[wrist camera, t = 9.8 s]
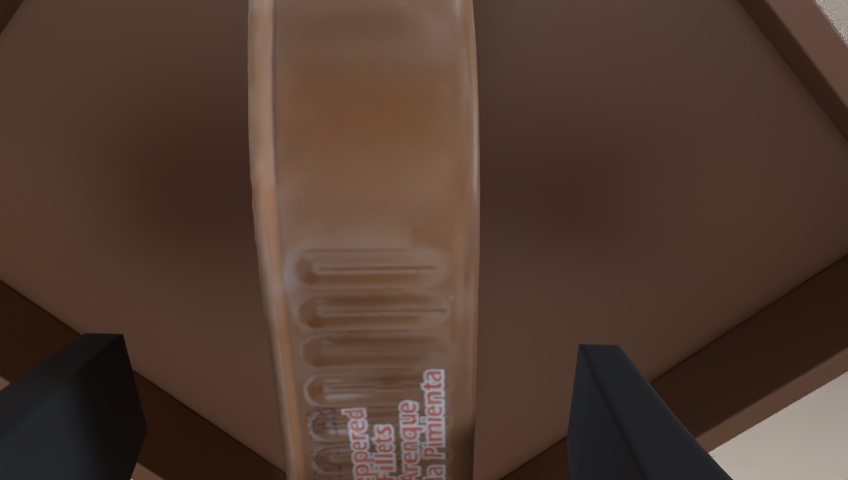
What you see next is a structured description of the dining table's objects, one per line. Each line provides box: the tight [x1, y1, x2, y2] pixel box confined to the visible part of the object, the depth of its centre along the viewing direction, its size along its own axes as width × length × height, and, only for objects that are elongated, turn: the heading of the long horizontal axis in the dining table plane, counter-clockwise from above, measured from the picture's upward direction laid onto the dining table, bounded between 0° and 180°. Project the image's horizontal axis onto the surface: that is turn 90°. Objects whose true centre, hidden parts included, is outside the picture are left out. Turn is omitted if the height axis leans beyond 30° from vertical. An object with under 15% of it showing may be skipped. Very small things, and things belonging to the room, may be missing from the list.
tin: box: [248, 0, 480, 480], centre depth 13 cm, size 15×3×8 cm, turn 0°
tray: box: [0, 0, 848, 480], centre depth 16 cm, size 18×18×3 cm
